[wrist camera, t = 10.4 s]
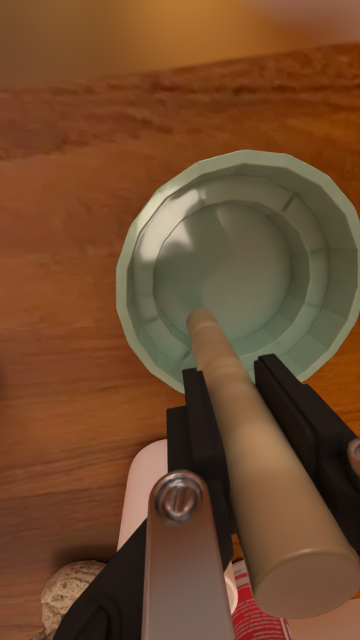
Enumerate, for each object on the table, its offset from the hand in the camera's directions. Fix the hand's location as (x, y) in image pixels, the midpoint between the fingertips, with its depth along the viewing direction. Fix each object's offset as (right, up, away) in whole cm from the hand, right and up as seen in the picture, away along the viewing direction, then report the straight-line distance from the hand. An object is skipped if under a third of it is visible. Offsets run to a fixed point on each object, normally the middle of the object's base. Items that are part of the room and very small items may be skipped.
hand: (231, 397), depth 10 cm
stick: (-1, +3, +8) cm, 9 cm away
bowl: (+1, +6, +11) cm, 12 cm away
